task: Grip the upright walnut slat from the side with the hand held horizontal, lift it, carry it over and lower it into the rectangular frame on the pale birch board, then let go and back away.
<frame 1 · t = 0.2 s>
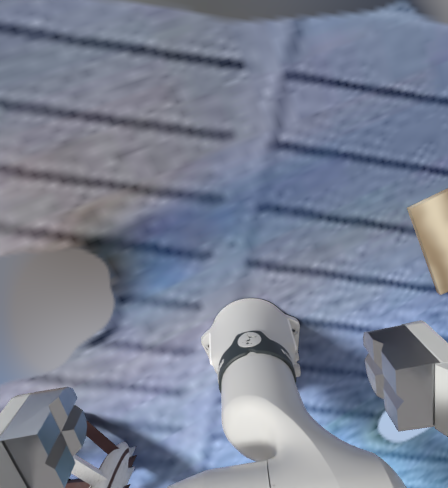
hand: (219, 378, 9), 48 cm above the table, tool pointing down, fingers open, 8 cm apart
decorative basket: (62, 444, 74), on the table
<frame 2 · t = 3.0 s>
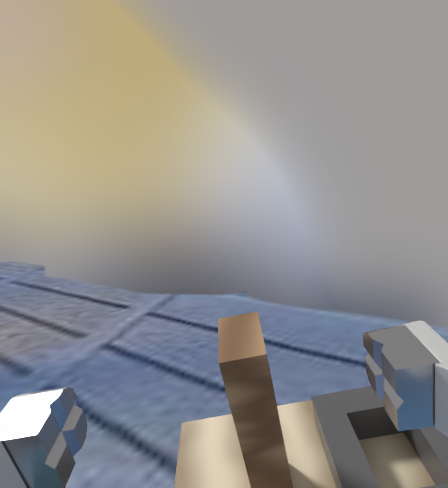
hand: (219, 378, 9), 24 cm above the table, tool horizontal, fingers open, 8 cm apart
rectangular frame: (395, 474, 28), resting on birch board
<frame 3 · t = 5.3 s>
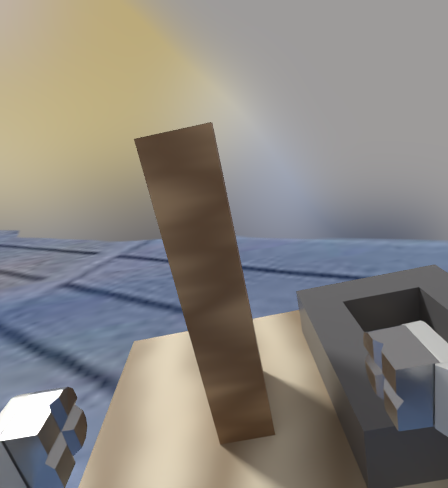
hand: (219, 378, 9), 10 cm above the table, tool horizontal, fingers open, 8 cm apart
birch board: (328, 401, 21), on the table
walnut slat: (244, 403, 20), point 1 cm above the table, touching birch board
rectangular frame: (410, 374, 20), resting on birch board
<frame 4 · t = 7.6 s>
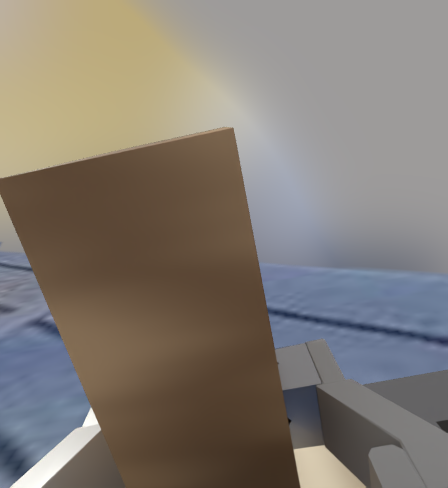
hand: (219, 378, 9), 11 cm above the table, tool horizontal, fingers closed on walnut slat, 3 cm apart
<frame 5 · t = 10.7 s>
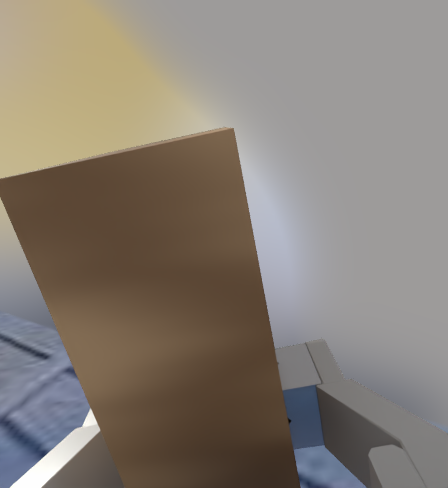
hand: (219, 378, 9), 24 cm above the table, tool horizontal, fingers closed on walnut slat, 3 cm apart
when the fingers open (12 cm above the table, at t = 13.8 s): walnut slat stays where it is, resting on birch board.
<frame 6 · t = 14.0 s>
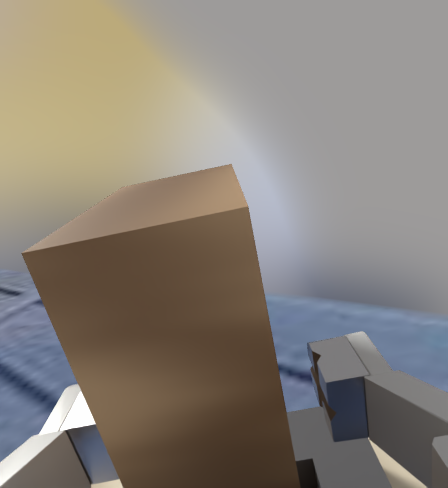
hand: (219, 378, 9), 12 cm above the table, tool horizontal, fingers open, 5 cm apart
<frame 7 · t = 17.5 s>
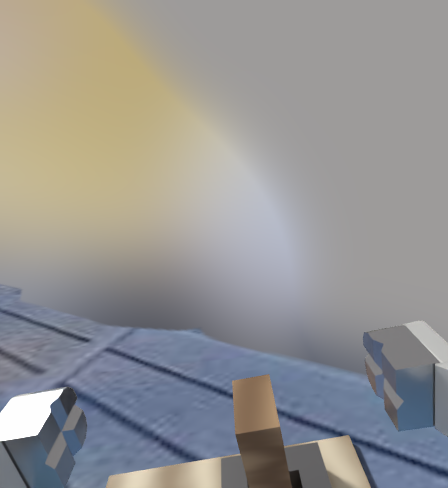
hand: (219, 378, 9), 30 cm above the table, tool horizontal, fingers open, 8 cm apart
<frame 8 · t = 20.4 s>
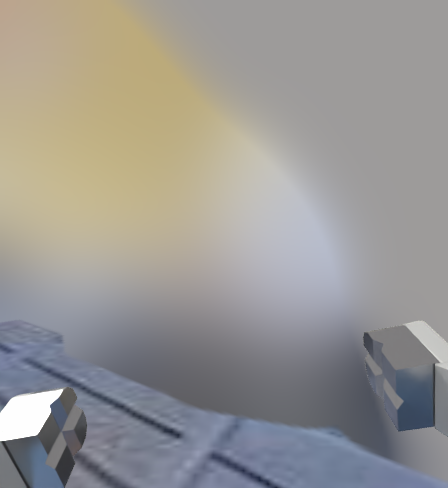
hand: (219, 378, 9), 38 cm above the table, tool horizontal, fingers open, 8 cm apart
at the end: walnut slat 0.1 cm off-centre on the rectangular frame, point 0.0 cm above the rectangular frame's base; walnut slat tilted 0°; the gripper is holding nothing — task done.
